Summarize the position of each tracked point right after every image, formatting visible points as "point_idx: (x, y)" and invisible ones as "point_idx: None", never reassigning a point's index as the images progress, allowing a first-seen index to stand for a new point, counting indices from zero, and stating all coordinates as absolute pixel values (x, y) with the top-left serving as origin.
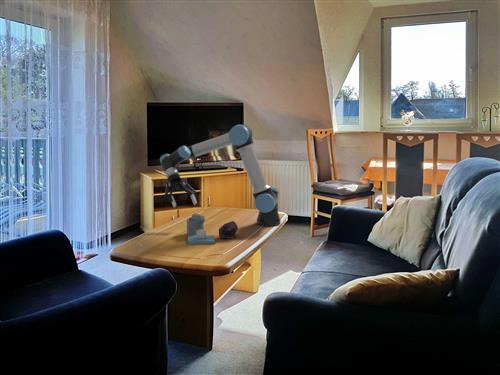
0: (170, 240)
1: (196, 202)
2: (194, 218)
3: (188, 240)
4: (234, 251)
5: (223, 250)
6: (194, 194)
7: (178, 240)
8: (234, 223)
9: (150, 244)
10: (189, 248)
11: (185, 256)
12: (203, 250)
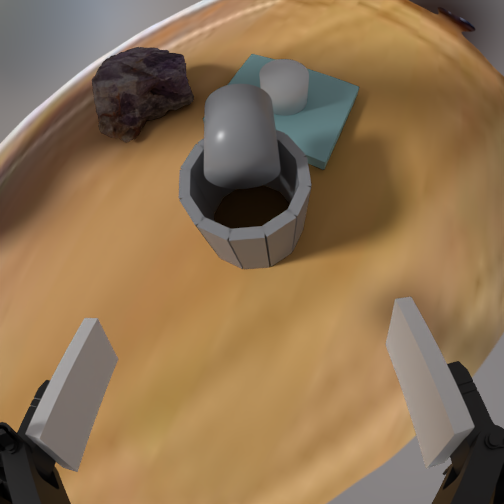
0: (414, 180)
1: (90, 319)
2: (274, 122)
3: (352, 96)
4: (243, 2)
5: (266, 13)
6: (17, 433)
7: (380, 160)
8: (113, 57)
9: (491, 173)
10: (365, 59)
11: (393, 23)
12: (326, 30)
